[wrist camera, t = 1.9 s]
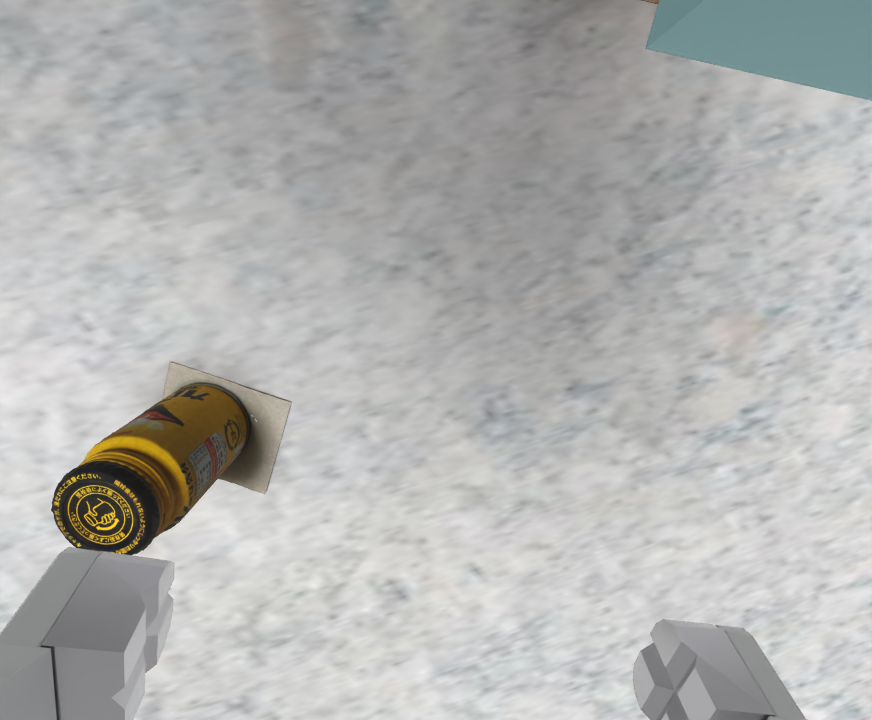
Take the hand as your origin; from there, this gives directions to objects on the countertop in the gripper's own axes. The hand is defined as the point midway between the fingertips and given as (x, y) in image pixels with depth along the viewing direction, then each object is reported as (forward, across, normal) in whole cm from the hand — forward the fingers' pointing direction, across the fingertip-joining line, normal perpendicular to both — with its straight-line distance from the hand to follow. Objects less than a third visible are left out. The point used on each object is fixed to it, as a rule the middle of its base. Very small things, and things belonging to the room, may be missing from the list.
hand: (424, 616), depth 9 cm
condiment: (+28, -10, -16) cm, 33 cm away
